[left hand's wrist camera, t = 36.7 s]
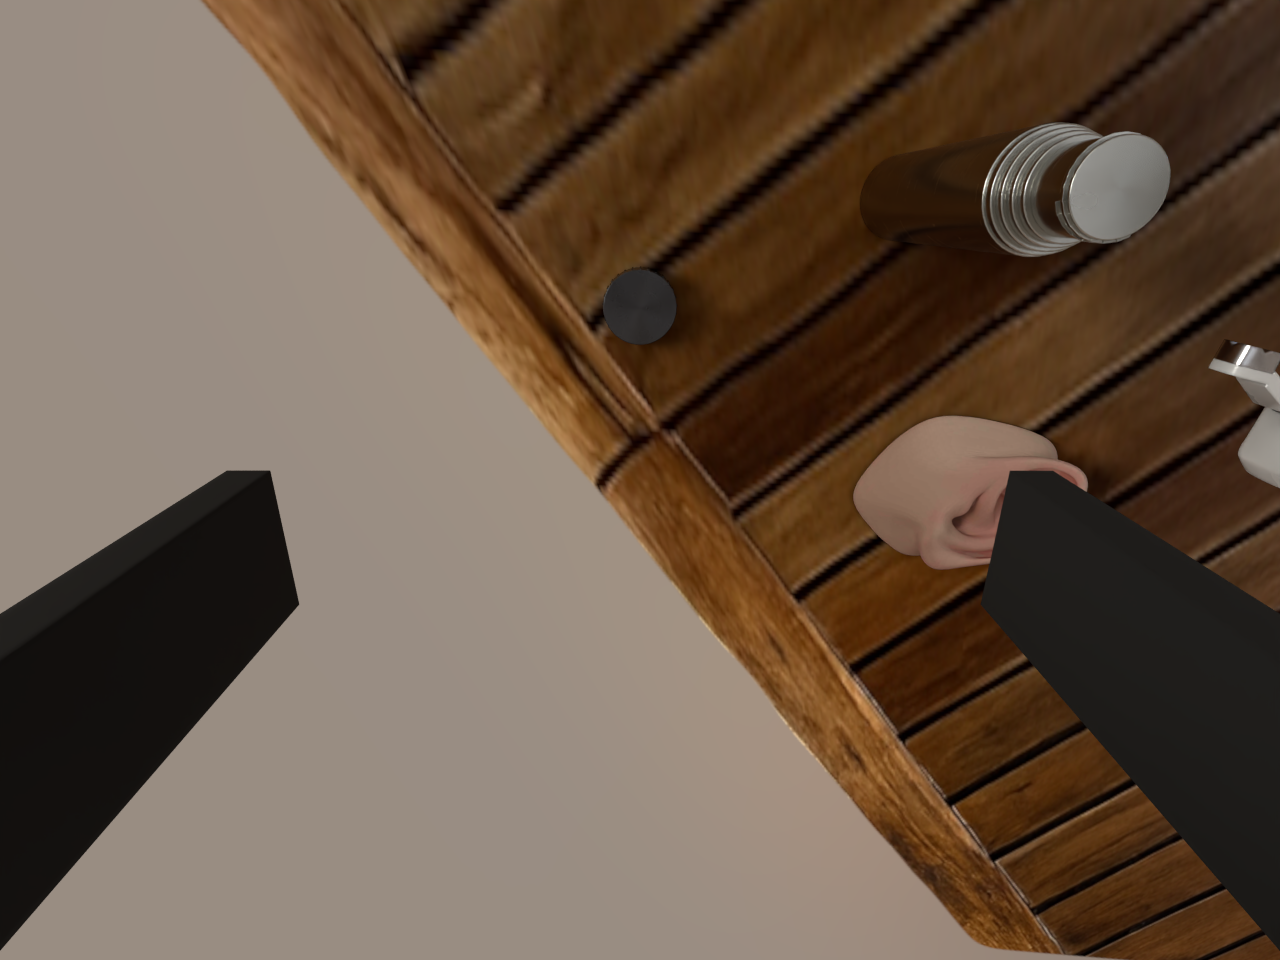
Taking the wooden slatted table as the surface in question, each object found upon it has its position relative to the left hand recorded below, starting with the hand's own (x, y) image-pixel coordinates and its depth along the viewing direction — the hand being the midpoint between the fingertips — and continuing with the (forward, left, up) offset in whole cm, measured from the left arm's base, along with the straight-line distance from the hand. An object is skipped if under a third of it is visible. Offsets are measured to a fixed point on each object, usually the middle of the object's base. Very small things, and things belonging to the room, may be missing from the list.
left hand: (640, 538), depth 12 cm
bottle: (-16, +6, -34) cm, 38 cm away
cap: (0, 0, -32) cm, 32 cm away
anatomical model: (-8, +24, -34) cm, 42 cm away
